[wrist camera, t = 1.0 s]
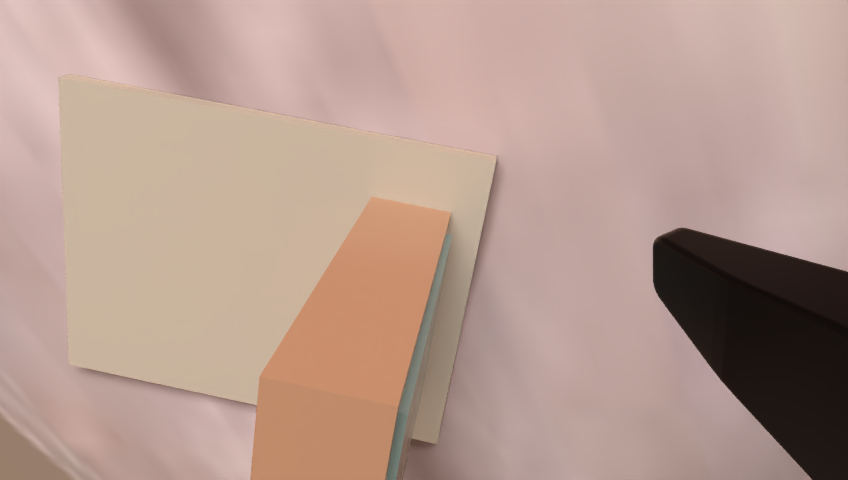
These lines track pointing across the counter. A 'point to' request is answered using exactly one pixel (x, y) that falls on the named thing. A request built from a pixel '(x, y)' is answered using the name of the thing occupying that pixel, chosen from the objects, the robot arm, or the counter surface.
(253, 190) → the mat
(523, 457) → the counter surface
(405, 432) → the block
